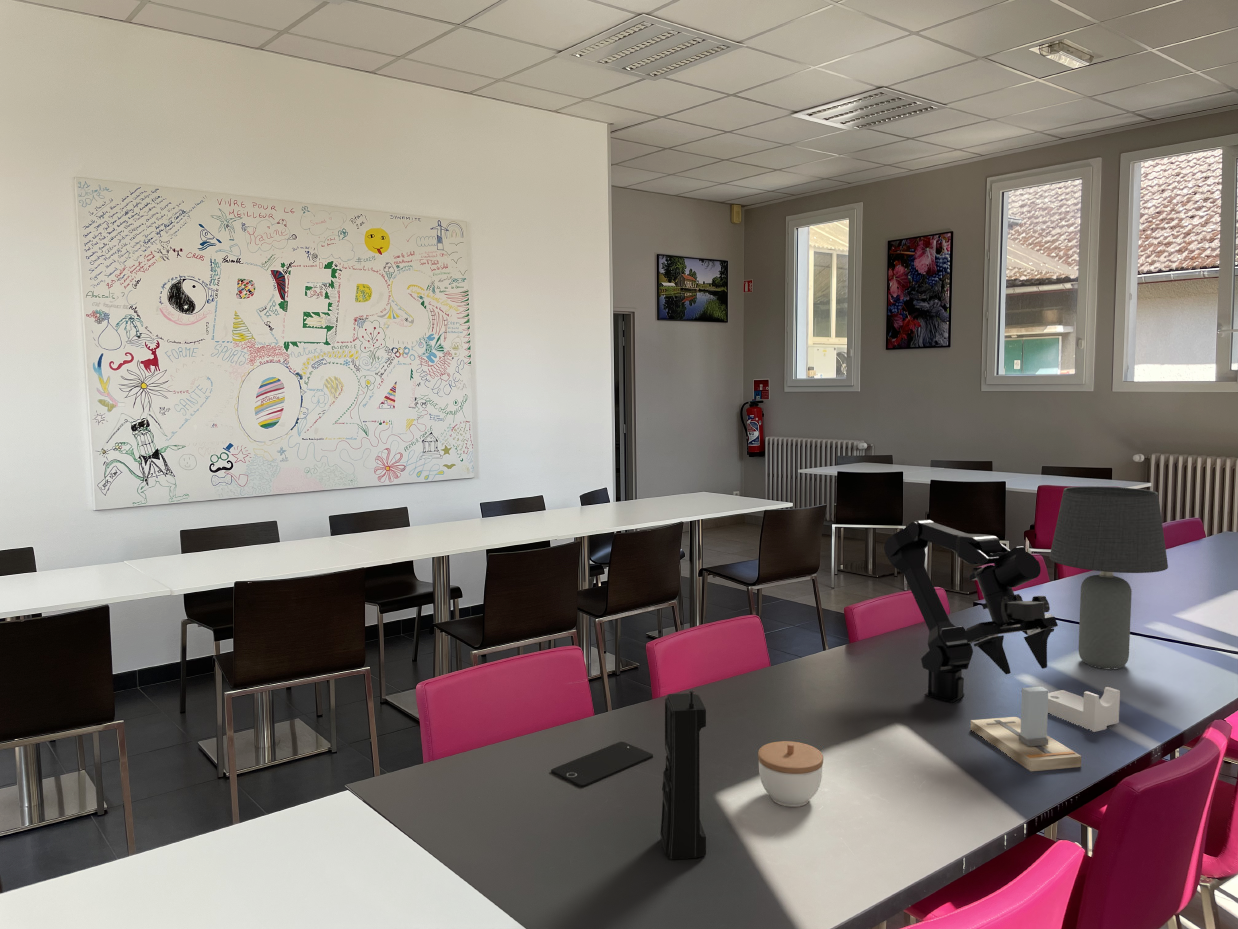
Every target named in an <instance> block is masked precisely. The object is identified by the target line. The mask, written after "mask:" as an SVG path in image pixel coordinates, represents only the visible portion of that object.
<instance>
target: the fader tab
mask: <svg viewBox="0 0 1238 929" xmlns="http://www.w3.org/2000/svg"><path fill="white" fill-rule="evenodd" d="M1048 693H1049V690H1048V689H1046V688H1044V687H1043V686H1031V687H1021V700H1020V702H1021V708H1020V719H1021V732H1020V734H1019V741H1021V742H1022V743H1024V744H1026V745H1027V746H1040V745H1048V738H1047V736H1048V715H1049V714H1048Z"/></svg>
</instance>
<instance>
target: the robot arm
mask: <svg viewBox="0 0 1238 929" xmlns="http://www.w3.org/2000/svg"><path fill="white" fill-rule="evenodd" d="M1000 541H1001V540H1000V538H999V537H997V535H992V534H984V533H983V534H981V533H967V532H963V531H960V530H957V529H955V528H953V527H952V528H951V527H949V526H946V525H942V524H939V523H937V522H934V521H933V520H931V519H919V520H917V519H916V520H913V521H912V522H910V523H909V524H908V525H907V526H905V527H904V528H902V529H901V530H899V531H897V532H895V533H893V534H892V535H891V536H889V537H888V538H887V539H886V541H885V543H884V546H883V550H884V554H885V556H886V558H887V559H888V561H889V562H890V564H891V565H892V567H894V568H895V569H896V570H898V571H899V572H900V573H901V574H903V576H904V578H905V581H906V583H907V585H908V588H909V589H910V591H911V594H912V596H913V598H914V600H915V603H916V605H917V607H918V609H919V611H920V613H921V615H922V618H923V620H924V622H925V624H926V626H927V629H928V638H927V645H928V646H927V647H928V649H929V650H928V651H927V652H926V653H925V654H924V655H923V656H922V657H921V658H920V660H921V665H922V666H921V667H922V668H923V669H924V670H926V671H928V673H927V674H928V675H927V691H925V692H924V694H923V695H924V696H925V697H929V698H933V699H937V700H941V701H943V702H947V703H948V702H949V703H953V702H956V701H958V700H959V699H961V698H963V697H964V696H965V692H964V682H965V681H964V677H963V676H962V672H963V670H968V669H969V665H970V663H971V660H972V658H973V653H974V650H973V647H972V645H971V644H973V646H974V647H977V648H979V649H980V650H981V651H982V652H983V653H984V654H985V655H986V656H988V658H990V659H991V661H992V662H993V663H994V664H995V665H996V666H997V667H998V668H999V669H1000V670H1001V671H1002V672H1003V673H1004V674H1005V675H1009V674H1011V673H1012V672H1011V668H1010V663H1009V661H1008V658H1007V655H1006V651H1005V648H1004V646H1003V642H1004V638H1005V634H1013V633H1020V632H1022V633H1024V635H1025V636H1024V637H1023V640H1024V641H1025V643H1026V645H1027V646H1028V648H1029V650H1030V652H1031V653H1032V655H1033V656H1034V659H1035V660H1036V662H1037V663H1038V665H1039V666H1040V668H1041V669H1043V670H1044V669H1046V668H1048V639H1049V638H1050V635H1051V634H1052V633H1053V632H1054V631H1055V628H1056V627H1058V626H1059V625H1058V622H1057V620H1056V617H1055V616H1054V615H1052V614H1051V613H1049V612H1050V609H1051V607H1050V603H1049V601H1048V599H1047V598H1046V595H1036V596H1032V598H1031V600H1023V597H1022V595H1020V593H1017V594H1016V593H1015V592H1014V590H1013V588H1017V587H1019V586H1022V585H1023V584H1026V583H1027V582H1030V581H1032V580H1035V579H1037V578H1038V577H1039V576H1040V575H1041V565H1040V564H1041V563H1040V562H1039V560H1037V558H1036V557H1035V556H1034V555H1033V554H1031V553H1030V552H1028V551H1026V549H1025V548H1026V547H1024V546H1015V547H1013V548H1012V549H1009V548H1008V547H1007V546H1005V545H1004V544H1003V543H1001V542H1000ZM930 544H934V545H937V546H939V547H942V548H945V549H947V550H950V551H953V552H954V553H955V554H956V555H957V557H958V558H959V559H960V560H962V561H964V562H965V563H966V564H969V565H971V566H973V565H985V566H983V567H982V566H977V567H975V566H974V567H972V571H971V573H970V574H969V576H968V580H969V581H977V582H978V585H979V588H980V591H981V593H982V596H983V600H984V601H985V603H982V604H981V606H982V610H988V613H989V616H990V618H991V621H983V622H979V623H977V624H974V625H971V626H969V627H967V628H965V627H964V626H962V625H961V626H955V625H954V624H953V623H952V622H951V619H950V617H949V616H948V614H947V612H946V609H945V607H944V605H943V603H942V601H941V599H940V597H939V594H938V592H937V591H936V588H935V586H934V584H933V582H932V580H931V578H930V576H929V574H928V572H927V570H926V567H925V563H926V556H927V553H926V550H925V549H926V548H928V547H929V546H930Z"/></svg>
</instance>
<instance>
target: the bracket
mask: <svg viewBox="0 0 1238 929" xmlns="http://www.w3.org/2000/svg"><path fill="white" fill-rule="evenodd" d="M1120 696H1121V690H1120V689H1116V688H1113V687H1110V686H1106V687H1104V692H1103V694H1102V696H1101V697H1100V695H1099V694H1095V693H1093V692H1090V691H1084V692H1083V696H1081V695H1078V694H1075V693H1072V692H1070V691H1067V690H1064V689H1061V690H1055V691H1051V692H1048V713H1050V714H1052V715H1051V716H1053V715H1055V716H1057V717H1056V718H1058V717H1059V718H1058V719H1060V718H1062V719H1061V720H1063V719H1064V720H1063V721H1065V720H1067V721H1066V722H1068V721H1069V722H1068V723H1070V722H1071V724H1073V723H1074V724H1073V725H1075V724H1076V725H1075V726H1078V725H1080V726H1082V727H1081V728H1083V727H1084V728H1083V729H1085V730H1088V729H1090V730H1089V731H1091V730H1092V731H1091V732H1093V733H1096V732H1099V731H1104V730H1107V729H1108V728H1107V726H1111V725H1115V724H1119V723H1120V702H1121V697H1120ZM1050 714H1049V715H1050ZM1055 716H1054V717H1055ZM1080 726H1079V727H1080Z"/></svg>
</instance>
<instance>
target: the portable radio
mask: <svg viewBox="0 0 1238 929" xmlns="http://www.w3.org/2000/svg"><path fill="white" fill-rule="evenodd" d="M694 692H695V691H693V690H690V691H688V693H685V692H684V693H668V694H667V697H666V698H665V699H664V750H665V753H666V756H665V768H664V770H663V773H662V774H663V775H662V778H663V779H662V788H661V791H662V803H661V804H662V806H661V821H660V838H661V843H662V846H663V849H664V854H665V855H666V856H668V859H670V860H685V859H687V860H688V859H690V860H691V859H696V858H701V857H703V856H706V855H707V836H706V833H705V830H704V828H703V825H702V822H701V819H700V818H701V816H700V815H701V814H700V812H701V810H700V805H701V804H700V802H701V801H700V799H701V797H700V795H701V794H700V792H701V791H700V780H701V779H700V733H701V732H700V731H701V729H704V728H705V727H707V708H706V707H705V705H704V703H703V701H702V699H701V697H700V694H695V693H694Z"/></svg>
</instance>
